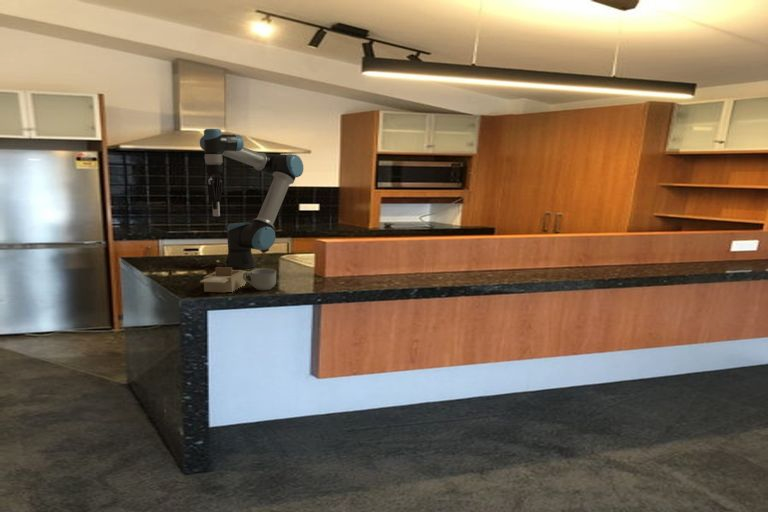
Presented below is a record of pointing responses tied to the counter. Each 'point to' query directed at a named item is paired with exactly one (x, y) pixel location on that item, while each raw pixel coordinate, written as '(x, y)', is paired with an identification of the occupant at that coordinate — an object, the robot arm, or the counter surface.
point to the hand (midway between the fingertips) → (216, 216)
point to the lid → (219, 275)
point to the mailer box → (226, 283)
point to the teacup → (262, 278)
